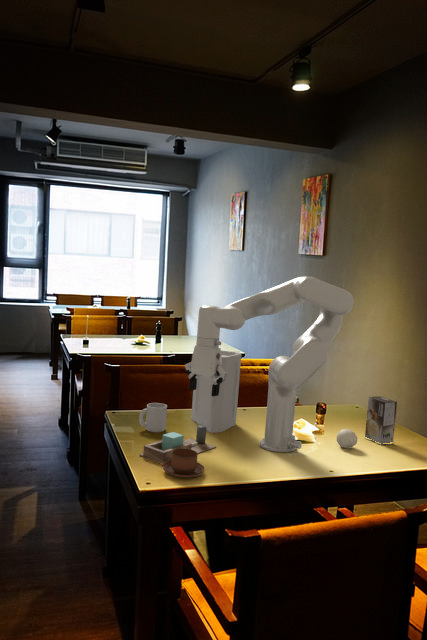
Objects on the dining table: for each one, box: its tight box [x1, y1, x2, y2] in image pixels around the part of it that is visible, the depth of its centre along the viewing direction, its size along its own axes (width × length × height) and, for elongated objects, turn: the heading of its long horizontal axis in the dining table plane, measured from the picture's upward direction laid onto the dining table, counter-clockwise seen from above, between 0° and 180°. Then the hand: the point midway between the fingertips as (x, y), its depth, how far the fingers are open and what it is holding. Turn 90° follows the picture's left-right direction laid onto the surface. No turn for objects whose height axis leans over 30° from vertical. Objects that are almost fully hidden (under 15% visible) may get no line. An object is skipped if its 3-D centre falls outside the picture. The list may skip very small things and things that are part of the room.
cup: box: [138, 402, 168, 433], centre depth 196 cm, size 7×10×9 cm
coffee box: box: [364, 396, 398, 444], centre depth 203 cm, size 9×6×16 cm
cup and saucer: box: [162, 449, 205, 479], centre depth 157 cm, size 12×12×6 cm
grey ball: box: [336, 428, 358, 449], centre depth 192 cm, size 7×7×7 cm
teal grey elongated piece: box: [161, 424, 207, 451], centre depth 178 cm, size 19×4×6 cm, turn 142°
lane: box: [138, 438, 217, 465], centre depth 175 cm, size 25×11×3 cm, turn 142°
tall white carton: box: [190, 350, 242, 434], centre depth 209 cm, size 19×15×28 cm
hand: (203, 392), depth 183 cm, fingers open, 9 cm apart
